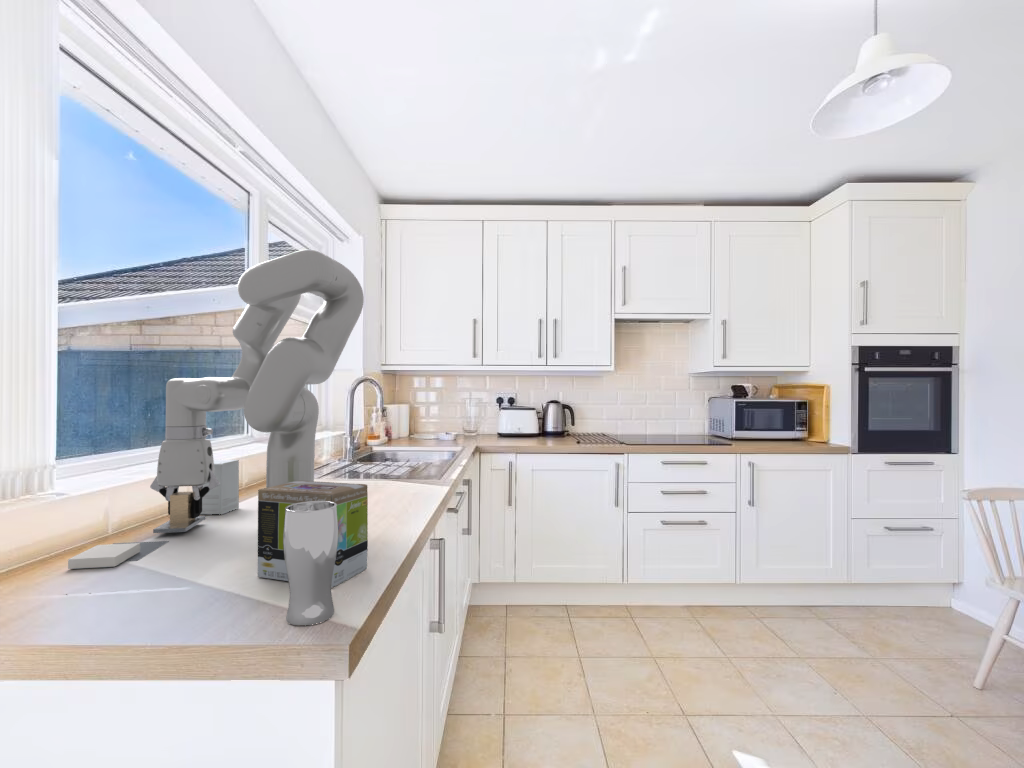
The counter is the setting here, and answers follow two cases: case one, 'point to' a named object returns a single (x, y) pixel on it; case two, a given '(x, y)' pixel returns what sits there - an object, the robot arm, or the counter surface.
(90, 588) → the counter surface
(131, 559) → the mat
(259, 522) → the tea box
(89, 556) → the tile
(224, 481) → the supplement box
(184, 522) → the trowel
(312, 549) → the beer glass
